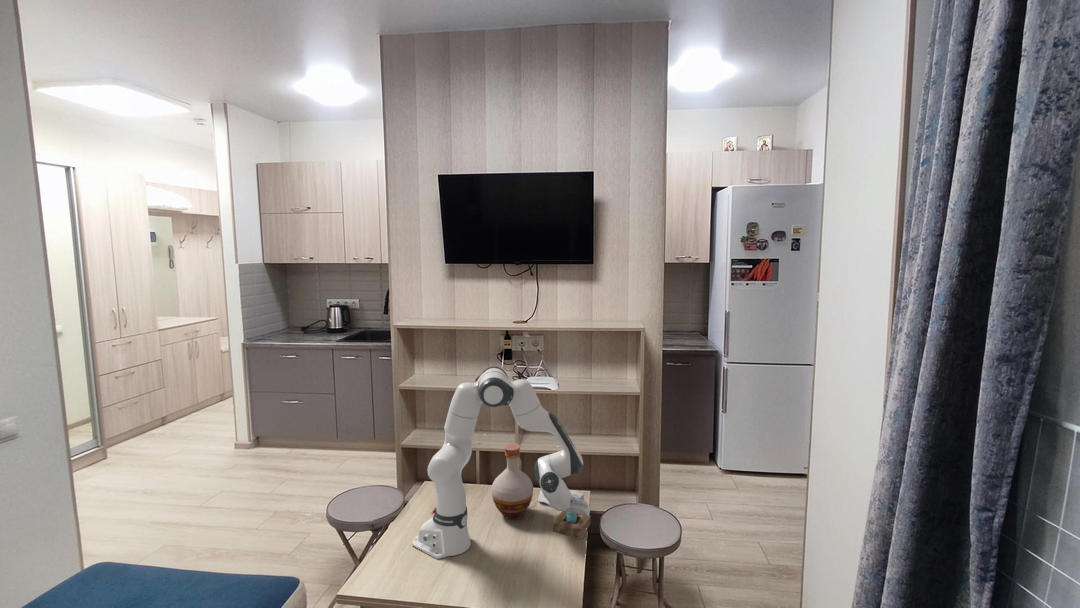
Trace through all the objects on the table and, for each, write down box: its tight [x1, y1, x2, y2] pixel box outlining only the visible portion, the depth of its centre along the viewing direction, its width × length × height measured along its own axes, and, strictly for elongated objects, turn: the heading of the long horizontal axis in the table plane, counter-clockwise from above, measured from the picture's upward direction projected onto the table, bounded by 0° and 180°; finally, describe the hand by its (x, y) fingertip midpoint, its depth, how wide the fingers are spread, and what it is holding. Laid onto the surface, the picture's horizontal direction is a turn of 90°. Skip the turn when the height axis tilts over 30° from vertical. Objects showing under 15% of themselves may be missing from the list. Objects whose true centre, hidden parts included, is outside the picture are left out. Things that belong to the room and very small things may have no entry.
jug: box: [491, 442, 534, 520], centre depth 202 cm, size 20×18×30 cm
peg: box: [567, 512, 577, 524], centre depth 191 cm, size 4×4×8 cm
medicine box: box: [569, 489, 585, 501], centre depth 203 cm, size 8×4×9 cm, turn 58°
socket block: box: [552, 511, 592, 539], centre depth 192 cm, size 12×12×4 cm
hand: (568, 510), depth 189 cm, fingers open, 8 cm apart
